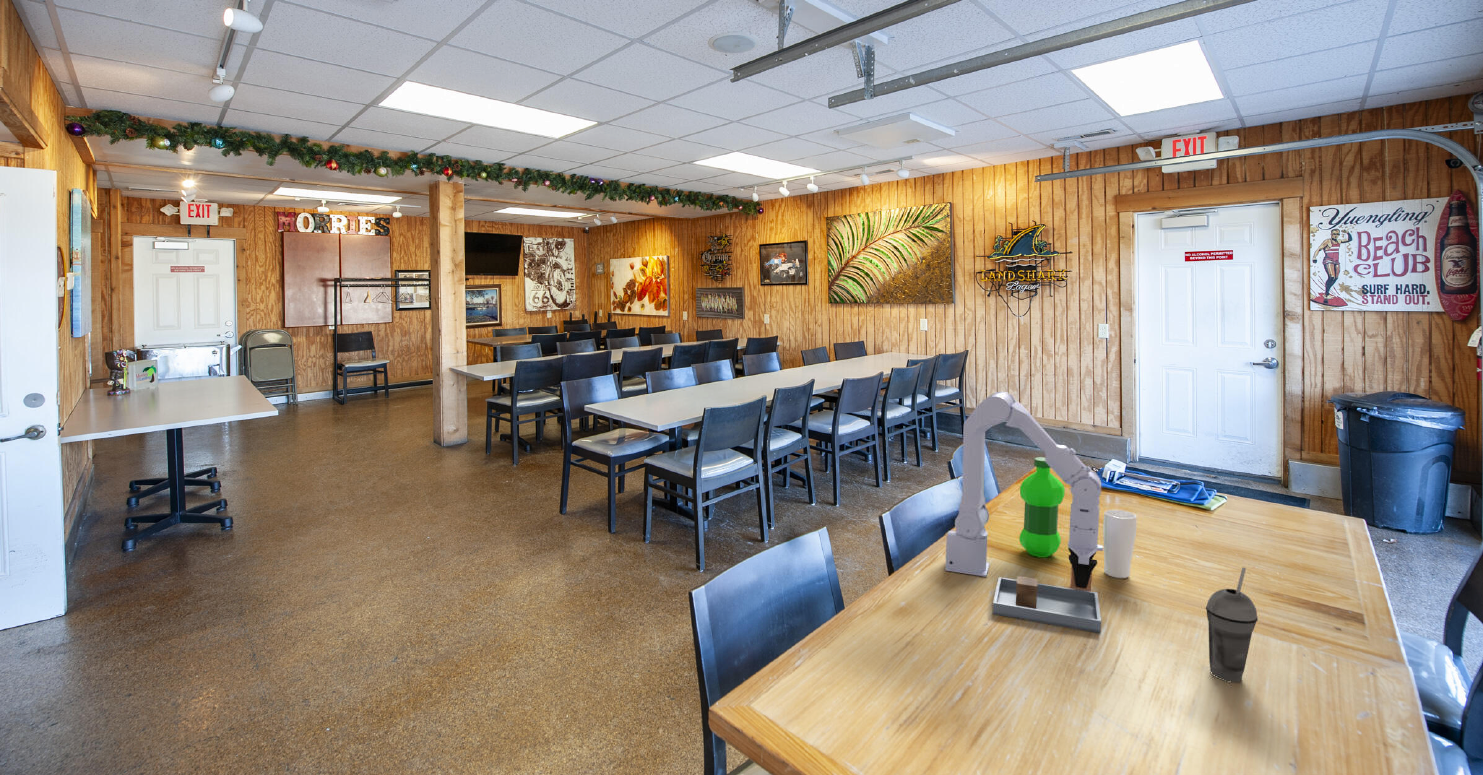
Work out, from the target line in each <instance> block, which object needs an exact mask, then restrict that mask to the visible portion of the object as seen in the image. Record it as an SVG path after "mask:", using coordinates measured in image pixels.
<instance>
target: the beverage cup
mask: <svg viewBox="0 0 1483 775" xmlns="http://www.w3.org/2000/svg"><path fill="white" fill-rule="evenodd" d="M1246 571H1247V568H1246V567H1242V568H1241V572H1240V576H1239V579H1238V584H1237V588H1236V589H1234V588H1223V589H1219V590H1217V591H1215V592H1213V593H1212V594H1211V595H1210V597H1209V598H1208V600H1207V604H1206V606H1205V611H1206V618H1207V622H1208V659H1209V660H1208V662H1209V663H1208V664H1209V671H1211V672H1212V674H1213V675H1215V676H1217V677H1218V678H1221V679H1224V680H1226V681H1225V682H1227V681H1231V682H1230V683H1235V682H1236V683H1240V682H1242V680H1243V675H1244V672H1245V668H1246V663H1247V659H1248V654H1249V650H1250V645H1251V644H1250V643H1251V639H1252V635H1253V632H1254V630H1255V628H1256V624H1257V622H1258V618H1259V617H1258V613H1257V612H1258V611H1257V608H1256V606H1255V604H1254V602H1253V601H1252V600H1251V598H1250V597H1249V596H1248V595H1246V594H1245V593H1243V592H1242V591H1241V590H1242V586H1243V582H1244V578H1245V574H1246ZM1211 672H1210V673H1211ZM1212 674H1211V675H1212ZM1213 675H1212V676H1213ZM1215 676H1214V677H1215ZM1218 678H1217V679H1218ZM1221 679H1220V680H1221ZM1224 680H1223V681H1224ZM1239 681H1240V682H1239Z"/></svg>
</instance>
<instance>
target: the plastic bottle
mask: <svg viewBox="0 0 1483 775" xmlns="http://www.w3.org/2000/svg"><path fill="white" fill-rule="evenodd" d="M1045 458H1046V456H1045V457H1044V456H1043V457H1042V456H1041V457H1040V456H1038V457H1037V456H1036V457H1034V460H1033V461H1034V462H1033V465H1034V467H1036V468H1035V472H1033V473H1032V474H1030V475H1029V476H1027V477H1026V478H1025V479H1023V481H1022V482H1021V484H1020V486H1019V494H1020V497H1021V499H1022V500H1023V501H1024V516H1023V517H1024V518H1023V528H1022V530H1021V531H1020V534H1019V540H1018V541H1019V542H1020V545H1021V546H1022V548H1023V549H1025V551H1027V553H1028V554H1029V555H1031V556H1033V557H1036V556H1037V558H1048V556H1049V557H1050V556H1051V555H1053V554H1055V553H1056V552H1057V551H1058V550H1059V548H1060V545H1061V541H1062V540H1061V539H1062V538H1061V535H1060V533H1059V531H1058V522H1059V521H1058V520H1059V505H1060V504H1062V502H1063V500H1064V497H1065V494H1066V493H1065V492H1066V489H1065V487H1064V484H1063V483H1062V482H1061V481H1060V480H1059V479H1058V478H1057V477H1056V476H1054V475H1053V474H1052V473H1051V469H1052V468H1051V467H1050V466H1049V465H1048V464H1047V463H1046V462H1045Z"/></svg>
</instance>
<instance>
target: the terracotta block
mask: <svg viewBox="0 0 1483 775" xmlns="http://www.w3.org/2000/svg"><path fill="white" fill-rule="evenodd" d="M1092 577H1093V572H1092V573H1091V575H1090V578H1089V582H1088V585H1087V588H1080V587H1076V585H1075V579H1074V571H1073V568H1072V565H1071V568H1070V588H1072V589H1078V590H1085V591H1091V592H1092V582H1093V581H1092V579H1093V578H1092Z"/></svg>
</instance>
